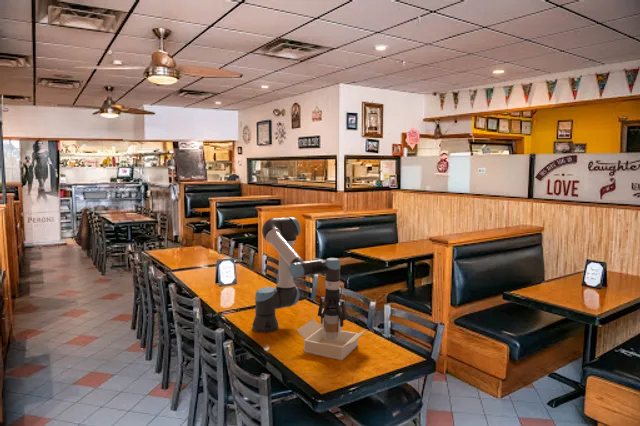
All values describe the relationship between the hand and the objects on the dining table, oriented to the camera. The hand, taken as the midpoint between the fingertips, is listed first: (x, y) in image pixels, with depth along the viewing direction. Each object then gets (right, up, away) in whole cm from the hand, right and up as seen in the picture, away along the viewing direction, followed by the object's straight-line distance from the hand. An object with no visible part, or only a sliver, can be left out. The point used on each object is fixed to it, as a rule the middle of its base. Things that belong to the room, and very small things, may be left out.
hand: (332, 330), depth 236 cm
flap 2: (+12, -2, -6) cm, 13 cm away
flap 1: (-12, 0, +6) cm, 13 cm away
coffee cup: (0, -4, 0) cm, 4 cm away
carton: (0, -10, +1) cm, 10 cm away
